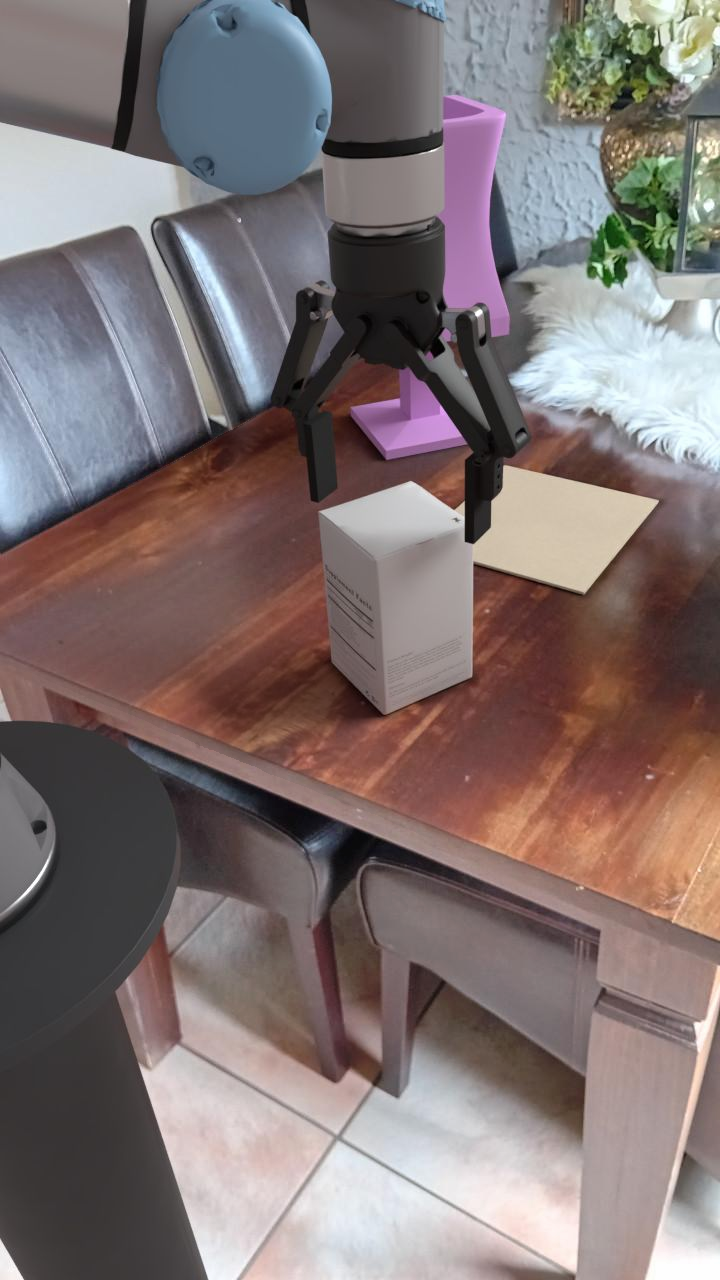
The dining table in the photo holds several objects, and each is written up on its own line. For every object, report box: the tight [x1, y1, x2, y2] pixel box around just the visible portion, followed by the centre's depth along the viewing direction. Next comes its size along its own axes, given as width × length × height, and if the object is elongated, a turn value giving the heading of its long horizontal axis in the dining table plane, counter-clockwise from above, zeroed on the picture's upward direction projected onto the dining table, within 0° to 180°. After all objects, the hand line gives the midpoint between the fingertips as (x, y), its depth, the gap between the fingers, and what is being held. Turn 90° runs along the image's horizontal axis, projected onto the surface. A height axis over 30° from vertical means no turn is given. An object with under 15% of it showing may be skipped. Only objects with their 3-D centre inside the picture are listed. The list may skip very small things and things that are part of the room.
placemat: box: [453, 464, 660, 596], centre depth 103 cm, size 18×20×1 cm
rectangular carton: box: [317, 480, 474, 716], centre depth 81 cm, size 9×9×15 cm
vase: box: [334, 94, 511, 461], centre depth 114 cm, size 16×16×35 cm
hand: (397, 514), depth 76 cm, fingers open, 13 cm apart
